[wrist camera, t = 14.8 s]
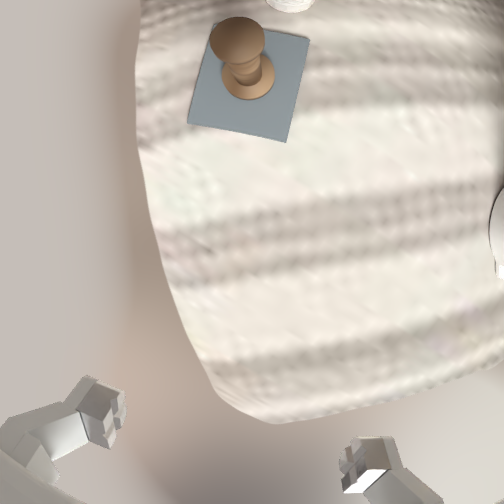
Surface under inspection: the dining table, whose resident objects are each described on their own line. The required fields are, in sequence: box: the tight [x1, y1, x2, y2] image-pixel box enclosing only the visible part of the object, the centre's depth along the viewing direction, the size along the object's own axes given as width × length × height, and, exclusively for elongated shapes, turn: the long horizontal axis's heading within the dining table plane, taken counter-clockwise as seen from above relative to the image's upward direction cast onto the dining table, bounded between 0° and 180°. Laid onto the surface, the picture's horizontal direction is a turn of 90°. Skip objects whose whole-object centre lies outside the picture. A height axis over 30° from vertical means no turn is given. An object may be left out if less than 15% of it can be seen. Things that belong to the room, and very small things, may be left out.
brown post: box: [209, 17, 275, 100], centre depth 24 cm, size 6×6×12 cm
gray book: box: [187, 24, 310, 143], centre depth 30 cm, size 12×14×1 cm
